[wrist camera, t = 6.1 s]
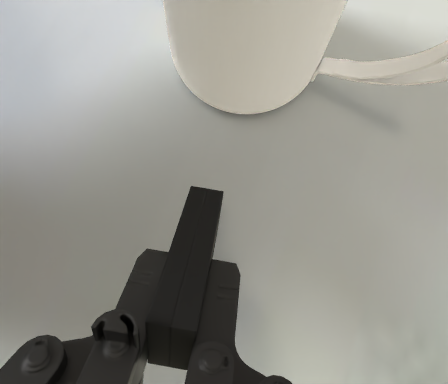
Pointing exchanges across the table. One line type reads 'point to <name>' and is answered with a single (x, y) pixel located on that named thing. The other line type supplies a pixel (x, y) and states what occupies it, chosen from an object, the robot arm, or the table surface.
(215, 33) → the coffeepot
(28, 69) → the table surface
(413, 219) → the table surface
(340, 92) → the table surface
